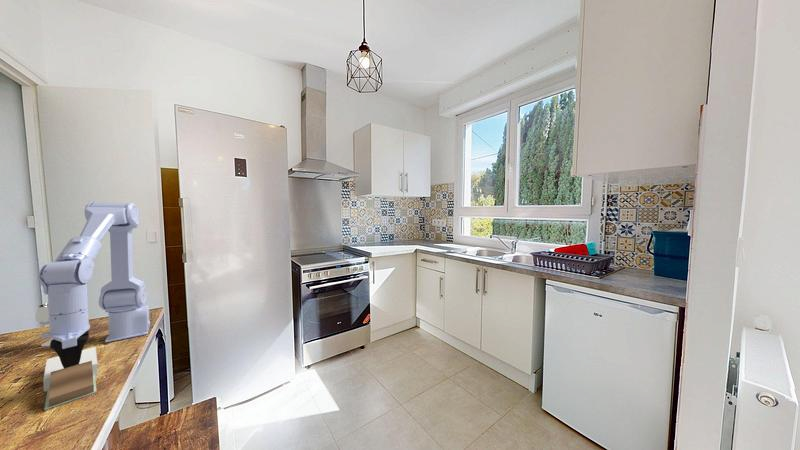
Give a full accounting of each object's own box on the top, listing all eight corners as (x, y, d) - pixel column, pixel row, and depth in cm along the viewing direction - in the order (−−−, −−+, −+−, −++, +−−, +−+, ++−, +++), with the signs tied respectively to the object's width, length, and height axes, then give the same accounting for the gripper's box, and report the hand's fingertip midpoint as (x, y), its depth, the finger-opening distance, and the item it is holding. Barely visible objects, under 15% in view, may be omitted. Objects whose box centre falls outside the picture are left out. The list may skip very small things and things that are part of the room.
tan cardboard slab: (51, 379, 59) (50, 372, 59) (92, 367, 64) (91, 360, 64) (49, 407, 54) (48, 399, 54) (93, 391, 59) (93, 384, 58)
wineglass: (72, 340, 81) (70, 302, 81) (42, 349, 76) (40, 309, 75) (63, 336, 83) (61, 300, 82) (33, 345, 78) (31, 306, 77)
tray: (47, 370, 66) (47, 359, 66) (95, 357, 72) (95, 346, 72) (43, 391, 59) (43, 379, 58) (98, 374, 65) (97, 363, 65)
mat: (47, 390, 59) (47, 389, 59) (94, 375, 65) (94, 374, 64) (44, 410, 53) (44, 408, 53) (96, 392, 59) (96, 391, 59)
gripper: (42, 307, 62) (45, 362, 63) (36, 325, 53) (40, 388, 54) (88, 300, 68) (90, 350, 69) (90, 315, 59) (92, 372, 60)
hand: (71, 366), depth 62 cm, fingers closed
